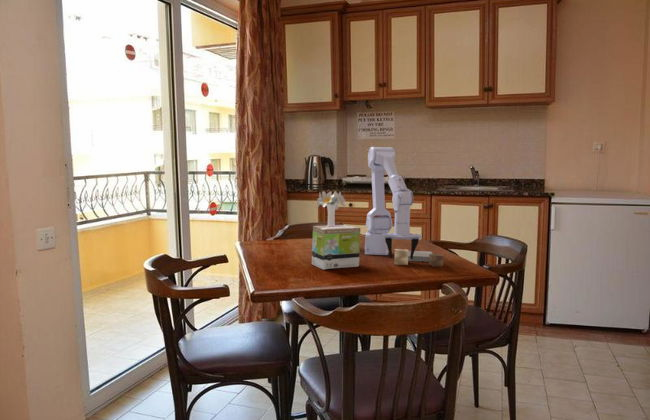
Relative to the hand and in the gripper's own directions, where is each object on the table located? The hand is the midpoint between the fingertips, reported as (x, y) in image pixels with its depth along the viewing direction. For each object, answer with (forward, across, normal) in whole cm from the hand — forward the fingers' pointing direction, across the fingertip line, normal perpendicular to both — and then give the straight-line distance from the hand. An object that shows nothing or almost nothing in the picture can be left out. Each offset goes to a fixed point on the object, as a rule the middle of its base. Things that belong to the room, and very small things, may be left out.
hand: (401, 258), depth 192 cm
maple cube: (+2, 0, 0) cm, 2 cm away
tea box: (+2, -24, -9) cm, 26 cm away
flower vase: (+2, -31, +31) cm, 44 cm away
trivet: (+2, +7, +10) cm, 12 cm away
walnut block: (+2, +13, -1) cm, 13 cm away
